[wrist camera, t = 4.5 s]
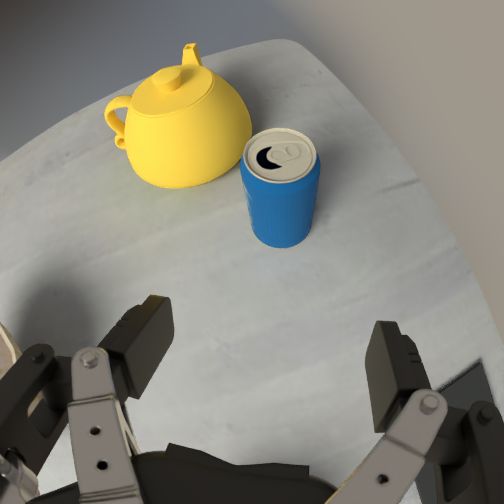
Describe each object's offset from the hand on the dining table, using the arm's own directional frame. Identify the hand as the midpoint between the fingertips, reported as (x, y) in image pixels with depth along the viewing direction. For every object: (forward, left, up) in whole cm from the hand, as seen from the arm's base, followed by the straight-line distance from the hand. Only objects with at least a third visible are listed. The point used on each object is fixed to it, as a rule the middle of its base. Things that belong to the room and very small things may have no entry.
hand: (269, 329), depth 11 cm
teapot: (-24, -19, -19) cm, 36 cm away
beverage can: (-14, -3, -19) cm, 23 cm away
